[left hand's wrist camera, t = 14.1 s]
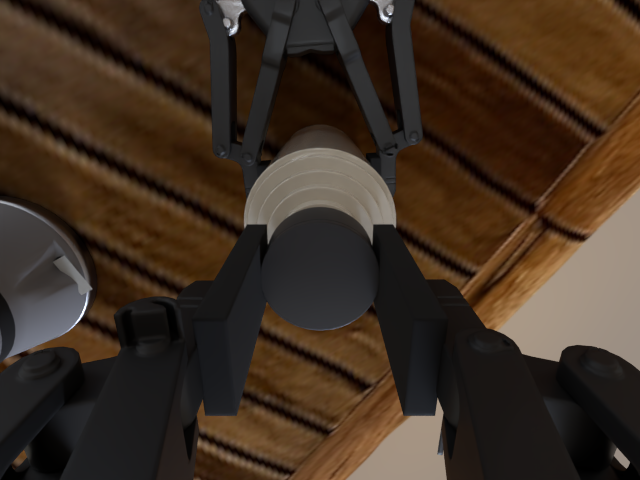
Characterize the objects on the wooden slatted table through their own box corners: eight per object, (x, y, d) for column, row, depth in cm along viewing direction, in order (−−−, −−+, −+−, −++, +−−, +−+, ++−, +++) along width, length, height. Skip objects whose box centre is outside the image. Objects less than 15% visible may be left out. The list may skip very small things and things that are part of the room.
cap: (388, 281, 15) (397, 306, 13) (294, 317, 15) (291, 345, 14) (348, 188, 13) (353, 202, 12) (248, 232, 14) (238, 251, 12)
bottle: (372, 187, 35) (452, 320, 14) (300, 218, 36) (272, 385, 15) (341, 110, 32) (381, 129, 11) (265, 145, 33) (172, 223, 12)
